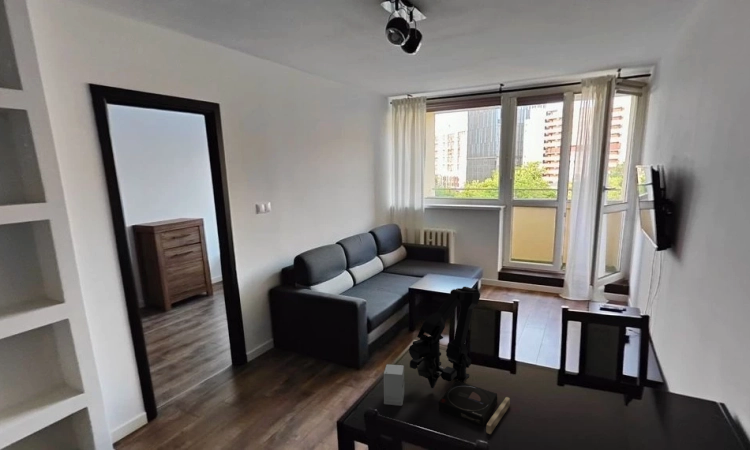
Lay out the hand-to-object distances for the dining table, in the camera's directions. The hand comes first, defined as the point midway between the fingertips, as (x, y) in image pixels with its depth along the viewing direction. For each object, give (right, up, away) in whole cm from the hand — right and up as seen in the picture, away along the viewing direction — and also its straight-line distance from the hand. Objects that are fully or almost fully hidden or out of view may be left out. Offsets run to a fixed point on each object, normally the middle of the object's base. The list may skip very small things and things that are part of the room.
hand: (432, 387), depth 142 cm
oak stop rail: (+21, -3, -17) cm, 27 cm away
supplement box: (-16, -3, -4) cm, 16 cm away
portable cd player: (+12, -3, -9) cm, 15 cm away
